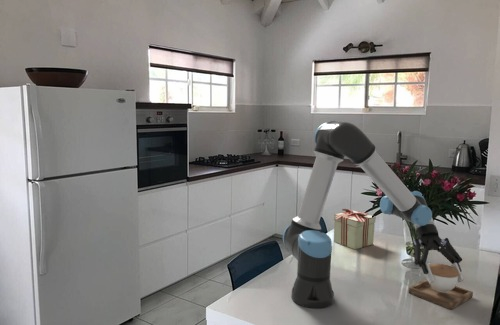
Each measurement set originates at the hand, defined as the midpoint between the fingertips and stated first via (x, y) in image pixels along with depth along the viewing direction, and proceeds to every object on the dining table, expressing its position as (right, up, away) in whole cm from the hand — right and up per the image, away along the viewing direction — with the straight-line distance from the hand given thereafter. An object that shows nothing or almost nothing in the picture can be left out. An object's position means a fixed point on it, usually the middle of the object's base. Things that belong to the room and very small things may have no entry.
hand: (446, 281), depth 145 cm
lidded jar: (0, -4, +3) cm, 5 cm away
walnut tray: (-1, -6, +4) cm, 7 cm away
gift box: (-19, +1, +60) cm, 63 cm away
